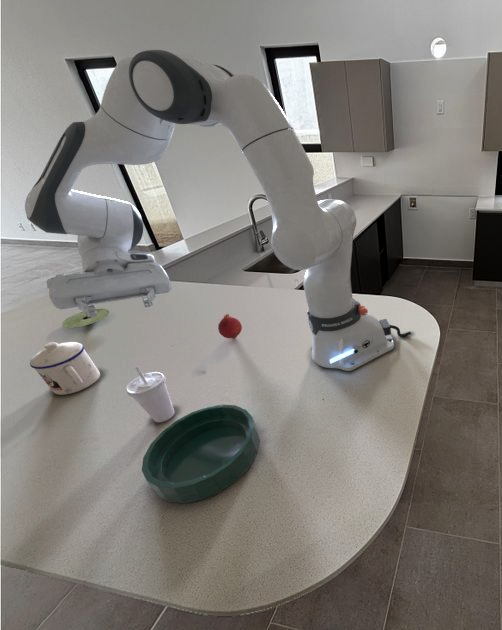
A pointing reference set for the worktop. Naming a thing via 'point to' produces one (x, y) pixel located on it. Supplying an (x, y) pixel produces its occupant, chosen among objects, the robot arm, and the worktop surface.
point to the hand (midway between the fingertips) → (121, 309)
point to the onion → (229, 327)
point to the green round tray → (201, 453)
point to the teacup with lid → (65, 367)
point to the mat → (84, 319)
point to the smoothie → (152, 395)
